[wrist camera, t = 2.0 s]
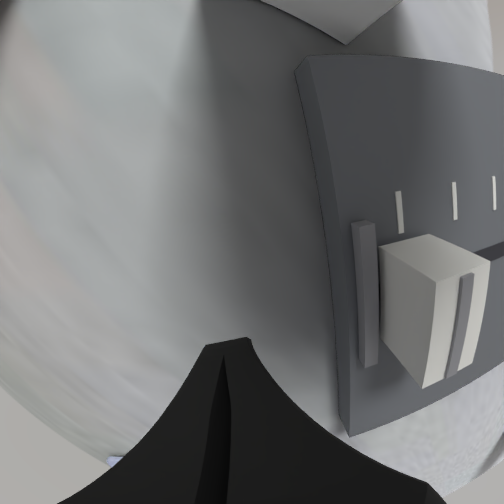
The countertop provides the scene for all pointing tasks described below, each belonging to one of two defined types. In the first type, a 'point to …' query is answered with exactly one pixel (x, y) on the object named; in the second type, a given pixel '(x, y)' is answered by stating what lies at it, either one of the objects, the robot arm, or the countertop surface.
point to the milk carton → (337, 14)
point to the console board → (402, 205)
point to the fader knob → (431, 305)
